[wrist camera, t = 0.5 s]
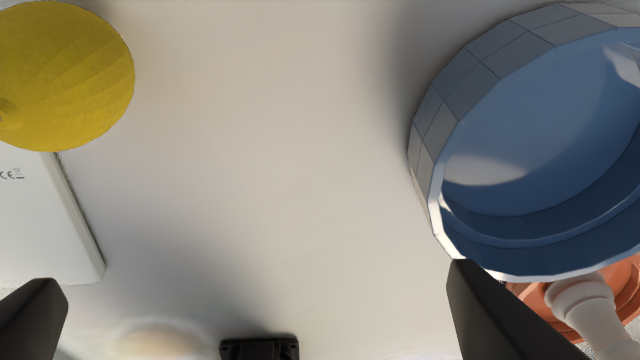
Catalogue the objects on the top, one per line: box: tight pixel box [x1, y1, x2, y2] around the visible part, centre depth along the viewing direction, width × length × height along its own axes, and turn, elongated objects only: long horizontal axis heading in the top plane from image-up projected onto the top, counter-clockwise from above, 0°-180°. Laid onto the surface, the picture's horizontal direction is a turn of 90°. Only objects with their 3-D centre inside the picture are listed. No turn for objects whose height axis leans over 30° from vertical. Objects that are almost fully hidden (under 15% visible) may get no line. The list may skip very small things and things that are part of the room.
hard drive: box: [0, 140, 106, 288], centre depth 24 cm, size 2×8×12 cm
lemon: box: [0, 1, 135, 152], centre depth 17 cm, size 6×6×8 cm
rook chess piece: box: [544, 272, 640, 360], centre depth 27 cm, size 4×4×8 cm
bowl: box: [407, 3, 640, 283], centre depth 21 cm, size 14×14×5 cm
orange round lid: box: [505, 251, 640, 344], centre depth 30 cm, size 10×10×2 cm
